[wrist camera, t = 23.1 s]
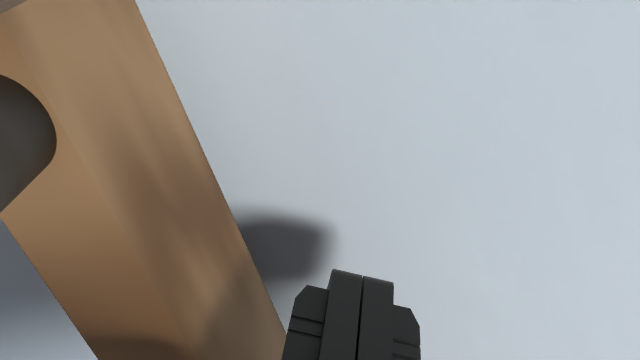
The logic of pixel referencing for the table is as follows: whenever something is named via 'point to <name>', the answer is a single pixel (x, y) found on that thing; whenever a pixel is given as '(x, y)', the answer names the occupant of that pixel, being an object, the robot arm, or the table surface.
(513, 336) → the table surface
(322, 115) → the table surface
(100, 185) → the crank lever
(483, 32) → the table surface
